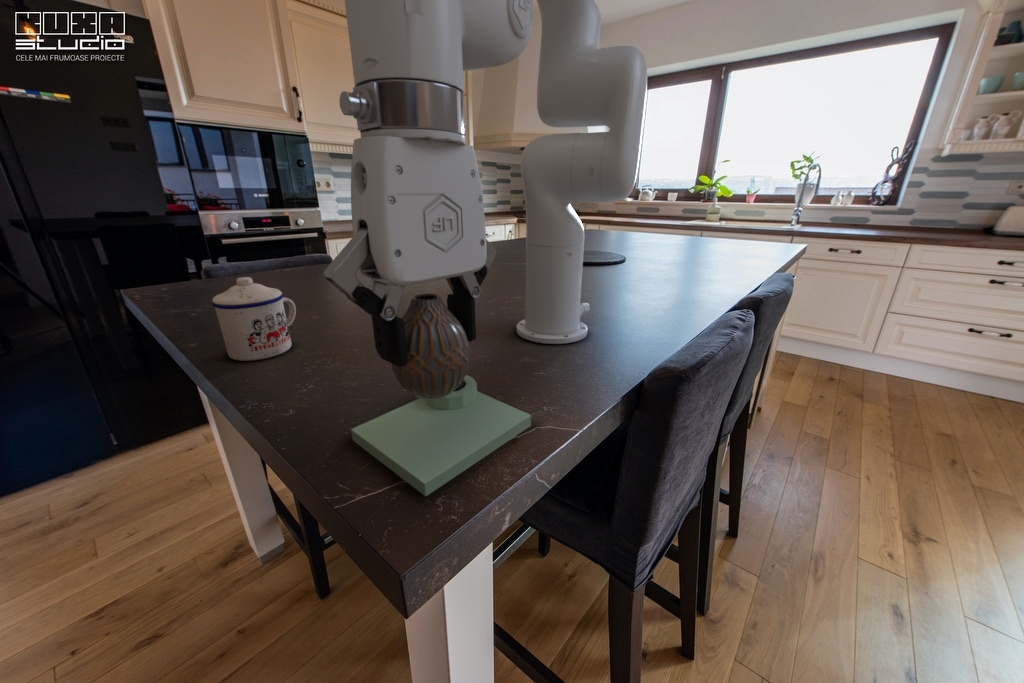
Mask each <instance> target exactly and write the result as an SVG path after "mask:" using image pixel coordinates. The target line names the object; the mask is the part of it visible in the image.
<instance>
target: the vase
mask: <svg viewBox="0 0 1024 683" xmlns="http://www.w3.org/2000/svg"><path fill="white" fill-rule="evenodd" d="M401 318H402V319H403V320H404V325H405V335H406V345H407V355H408V362H407V364H406V365H404V366H401V367H398V366H396V365H394V364H392V363H390V364H391V368H392V371H393V374H394V377H395V378H396V381H397V382H398V383H399V385H400V386H401V387H402V388H403V389H404V390H405V391H407V392H408V393H409V394H411V395H413V396H414V397H416V398H418V399H419V398H423V399H436V398H441V397H444V396H447V395H449V394H450V393H452V392H453V391H454V390H455V389H456V388H457V387H458V386H459V385H460V384H461V382H462V381H463V380H464V378H465V375H467V373H468V369H469V364H470V345H469V341H468V340H467V336H466V334H465V331H464V329H463V327H462V325H461V324H460V322H459V321H458V320H457V319H456V318H455V316H454V315H453V314H452V313H451V312H450V311H449V310H448V309H447V305H445V303H444V301H443V299H442V297H441V295H439V294H436V293H421V294H416V295H414V296H412V297H411V298H410V302H409V305H408V307H407V310H406V311H405V312H404V313H403V315H402V317H401Z"/></svg>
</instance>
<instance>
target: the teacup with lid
mask: <svg viewBox="0 0 1024 683" xmlns="http://www.w3.org/2000/svg"><path fill="white" fill-rule="evenodd" d="M235 283H236V284H234V285H233V286H230V287H229V288H228V289H227V290H225V291H224V292H221V293H218V294H216V295H214V296H213V297H212V300H211V305H212V307H214V309H215V312H216V317H217V321H218V324H219V327H220V331H221V335H222V339H223V341H224V344H225V345H224V346H225V349H226V352H227V355H228V357H229V358H230V359H232V360H234V361H240V362H253V361H260V360H265V359H270V358H273V357H277V356H279V355H281V354H284V353H286V352H288V351H289V350H290V349H291V348H292V338H291V333H290V329H289V327H290V326H291V325H292V324H293V323H294V321H295V318H296V315H297V308H296V304H295V302H294V301H293V299H290V298H288V297H284V294H283V292H282V291H281V290H280V289H278V288H276V287H275V288H274V287H267V286H266V285H263V284H262V283H261V284H260V283H256V282H254V281H253V278H252V277H250V276H243V277H242V276H241V277H238V278H236V280H235ZM284 303H285V304H286V305H287V309H288V313H287V316H286V310H285V306H284Z"/></svg>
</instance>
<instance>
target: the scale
mask: <svg viewBox="0 0 1024 683" xmlns="http://www.w3.org/2000/svg"><path fill="white" fill-rule="evenodd" d="M463 385H464V387H463V389H460V390H458V391H454V392H452V393H450V394H449V395H447V396H444V397H441V398H436V399H423V398H419V397H418V398H417V399H415V400H413V401H410V402H408V403H407V404H404V405H402V406H399V407H398V408H394V409H393V410H391V411H389V412H385V413H384V414H382V415H380V416H377V417H375V418H372V419H371V420H368V421H366V422H364V423H362V424H359V425H358V426H355V427H353V428H351V429H350V431H351V438H352V441H353V442H354V443H355V444H357V445H358V446H359V447H361V449H363V450H365V451H366V452H367V453H368V454H370V455H371V456H372V457H373V458H375V459H376V460H377V461H379V462H380V463H382V465H384V466H385V467H387V468H388V469H389V470H390V471H392V472H393V473H395V475H397V476H398V477H400V478H401V479H402V480H403V481H404V482H406V483H407V484H409V485H410V486H411V487H413V488H414V489H415V490H417V491H418V493H420V494H421V495H423V496H424V497H428V496H429V495H430V494H432V493H433V492H435V491H436V490H438V489H439V488H441V487H443V486H444V485H445V484H447V483H448V482H450V481H451V480H453V479H454V478H456V477H457V476H458V475H460V474H462V473H463V472H464V471H466V470H468V469H469V468H471V467H472V466H473V465H475V464H476V463H478V462H479V461H481V460H483V459H484V458H486V457H487V456H488V455H490V454H492V453H493V452H494V451H496V450H497V449H499V448H500V447H502V446H504V444H506V443H508V442H509V441H511V440H512V439H513V438H516V436H518V435H519V434H521V433H522V432H524V431H525V430H527V429H529V428H530V427H531V426H532V415H531V414H529V413H527V412H525V411H523V410H520V409H518V408H516V407H513V406H512V405H509V404H507V403H504V402H502V401H500V400H498V399H495V398H493V397H491V396H489V395H487V394H485V393H482V392H480V391H478V384H477V382H476V380H475V378H474V377H472V376H470V375H468V374H466V375H465V378H464V380H463Z"/></svg>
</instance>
